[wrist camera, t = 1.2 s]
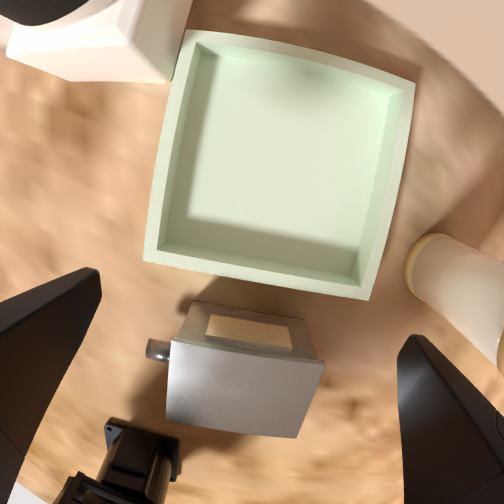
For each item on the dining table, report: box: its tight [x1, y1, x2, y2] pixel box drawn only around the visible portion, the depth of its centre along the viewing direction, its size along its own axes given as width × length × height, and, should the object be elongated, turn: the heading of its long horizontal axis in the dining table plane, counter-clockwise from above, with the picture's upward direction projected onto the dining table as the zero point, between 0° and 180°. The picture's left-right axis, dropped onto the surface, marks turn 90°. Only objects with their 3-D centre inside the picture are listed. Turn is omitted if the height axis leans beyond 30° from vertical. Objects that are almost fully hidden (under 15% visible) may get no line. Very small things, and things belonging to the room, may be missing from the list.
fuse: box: [404, 232, 504, 376], centre depth 14 cm, size 5×5×11 cm
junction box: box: [146, 301, 325, 438], centre depth 18 cm, size 5×9×5 cm, turn 79°
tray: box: [143, 29, 416, 301], centre depth 17 cm, size 12×12×2 cm
